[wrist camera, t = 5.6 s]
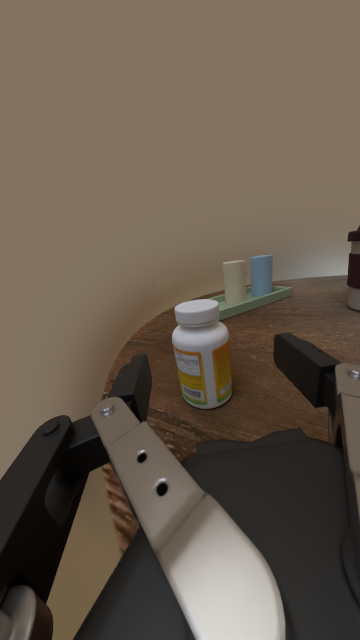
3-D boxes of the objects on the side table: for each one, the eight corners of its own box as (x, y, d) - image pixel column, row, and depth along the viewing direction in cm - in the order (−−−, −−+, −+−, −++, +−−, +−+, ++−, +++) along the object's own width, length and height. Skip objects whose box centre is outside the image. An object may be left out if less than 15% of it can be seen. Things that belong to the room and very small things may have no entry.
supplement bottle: (223, 371, 23) (217, 294, 19) (240, 405, 18) (236, 307, 14) (180, 379, 22) (166, 302, 19) (184, 415, 17) (167, 319, 14)
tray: (202, 327, 37) (200, 317, 36) (178, 315, 46) (177, 307, 45) (291, 295, 47) (292, 287, 47) (258, 291, 57) (258, 284, 56)
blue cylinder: (251, 298, 49) (251, 258, 45) (251, 293, 53) (250, 257, 50) (272, 296, 47) (273, 255, 44) (270, 292, 51) (271, 254, 48)
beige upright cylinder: (224, 306, 45) (221, 264, 42) (226, 301, 50) (224, 262, 46) (246, 305, 43) (245, 261, 40) (246, 299, 48) (245, 259, 45)
